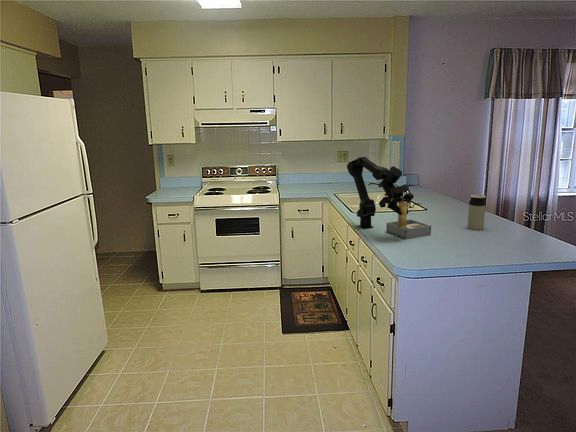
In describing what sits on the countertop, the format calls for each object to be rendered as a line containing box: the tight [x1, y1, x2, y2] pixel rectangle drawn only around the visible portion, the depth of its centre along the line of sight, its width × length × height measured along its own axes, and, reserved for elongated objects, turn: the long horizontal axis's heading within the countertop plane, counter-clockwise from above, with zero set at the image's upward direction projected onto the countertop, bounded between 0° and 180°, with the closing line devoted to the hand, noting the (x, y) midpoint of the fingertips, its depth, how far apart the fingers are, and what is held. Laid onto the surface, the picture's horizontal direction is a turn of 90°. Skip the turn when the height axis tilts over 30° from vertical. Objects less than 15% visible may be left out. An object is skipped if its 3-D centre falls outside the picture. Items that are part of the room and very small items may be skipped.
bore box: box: [385, 218, 432, 240], centre depth 215 cm, size 16×16×5 cm
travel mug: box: [467, 194, 487, 231], centre depth 219 cm, size 8×8×18 cm
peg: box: [397, 201, 408, 228], centre depth 201 cm, size 4×4×12 cm
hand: (404, 214), depth 200 cm, fingers closed on peg, 4 cm apart
